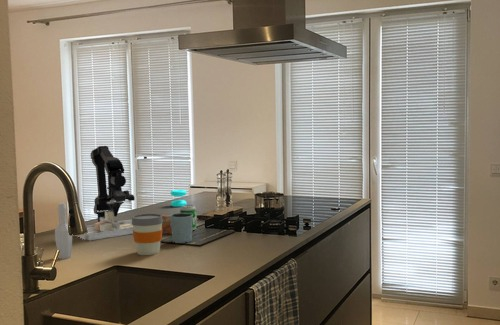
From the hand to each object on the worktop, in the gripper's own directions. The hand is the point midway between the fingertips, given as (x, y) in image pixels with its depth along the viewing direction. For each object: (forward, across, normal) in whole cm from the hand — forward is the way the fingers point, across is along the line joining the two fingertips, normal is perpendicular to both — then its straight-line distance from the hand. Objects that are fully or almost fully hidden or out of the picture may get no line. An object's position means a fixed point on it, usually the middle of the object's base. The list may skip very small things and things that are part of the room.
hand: (115, 216), depth 263 cm
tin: (+8, +17, -20) cm, 27 cm away
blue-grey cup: (+8, +12, -42) cm, 44 cm away
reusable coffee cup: (+8, -8, -50) cm, 51 cm away
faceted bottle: (+8, -37, -33) cm, 51 cm away
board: (+8, +1, 0) cm, 8 cm away
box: (+8, -13, 0) cm, 15 cm away
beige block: (+6, -6, -3) cm, 9 cm away
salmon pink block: (+6, -6, +3) cm, 9 cm away
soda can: (+8, +28, -23) cm, 37 cm away
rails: (+8, -3, 0) cm, 8 cm away
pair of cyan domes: (+8, +64, +47) cm, 80 cm away
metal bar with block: (+4, -3, 0) cm, 5 cm away
